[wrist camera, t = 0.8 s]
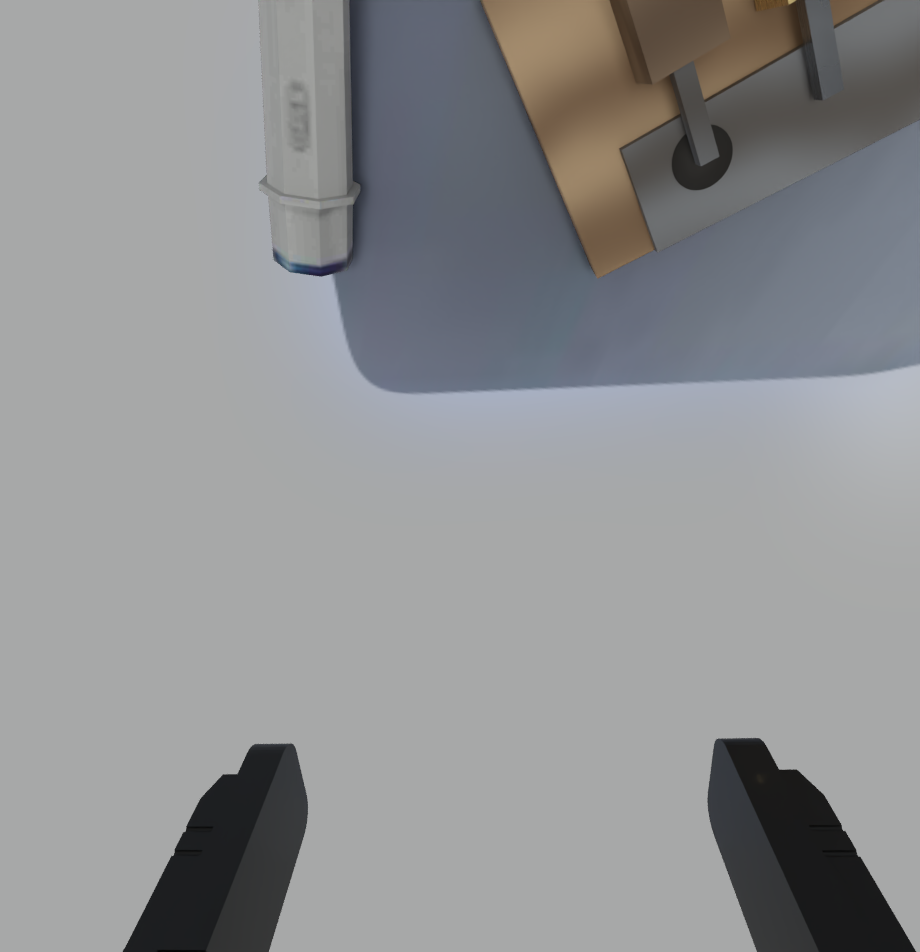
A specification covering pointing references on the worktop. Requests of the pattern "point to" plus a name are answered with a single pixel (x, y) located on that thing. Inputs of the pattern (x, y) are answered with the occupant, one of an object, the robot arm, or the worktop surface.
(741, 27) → the board
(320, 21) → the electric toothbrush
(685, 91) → the brown block with stem
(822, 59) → the gold l-shaped piece
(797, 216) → the worktop surface
